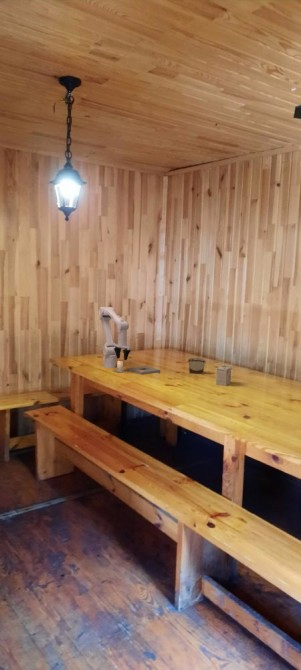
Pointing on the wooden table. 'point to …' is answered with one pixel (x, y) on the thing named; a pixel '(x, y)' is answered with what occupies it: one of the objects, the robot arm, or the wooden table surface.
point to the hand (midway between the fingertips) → (121, 359)
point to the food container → (196, 365)
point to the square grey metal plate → (120, 372)
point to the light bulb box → (223, 375)
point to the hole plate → (144, 370)
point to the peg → (119, 366)
